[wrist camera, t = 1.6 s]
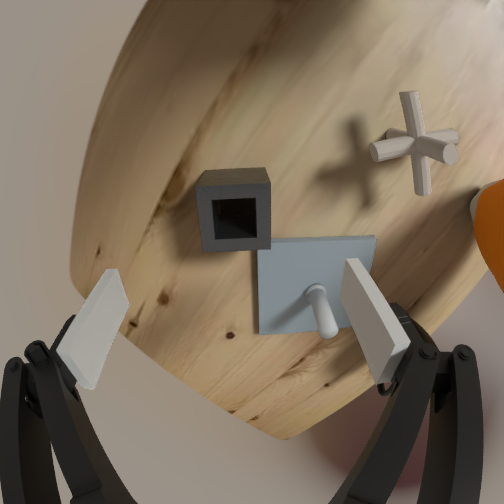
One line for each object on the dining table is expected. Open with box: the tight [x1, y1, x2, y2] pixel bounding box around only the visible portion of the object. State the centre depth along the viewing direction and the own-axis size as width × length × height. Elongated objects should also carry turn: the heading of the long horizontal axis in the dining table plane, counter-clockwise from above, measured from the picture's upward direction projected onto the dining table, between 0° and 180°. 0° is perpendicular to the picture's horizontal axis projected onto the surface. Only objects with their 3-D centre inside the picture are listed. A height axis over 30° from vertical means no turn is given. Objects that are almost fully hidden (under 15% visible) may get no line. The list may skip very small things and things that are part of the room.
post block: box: [257, 235, 377, 339], centre depth 31 cm, size 14×14×8 cm
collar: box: [195, 167, 271, 252], centre depth 25 cm, size 6×6×6 cm
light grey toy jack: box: [369, 91, 459, 196], centre depth 20 cm, size 10×10×10 cm
